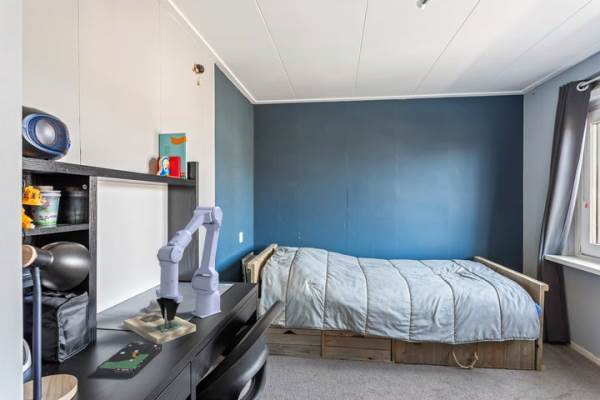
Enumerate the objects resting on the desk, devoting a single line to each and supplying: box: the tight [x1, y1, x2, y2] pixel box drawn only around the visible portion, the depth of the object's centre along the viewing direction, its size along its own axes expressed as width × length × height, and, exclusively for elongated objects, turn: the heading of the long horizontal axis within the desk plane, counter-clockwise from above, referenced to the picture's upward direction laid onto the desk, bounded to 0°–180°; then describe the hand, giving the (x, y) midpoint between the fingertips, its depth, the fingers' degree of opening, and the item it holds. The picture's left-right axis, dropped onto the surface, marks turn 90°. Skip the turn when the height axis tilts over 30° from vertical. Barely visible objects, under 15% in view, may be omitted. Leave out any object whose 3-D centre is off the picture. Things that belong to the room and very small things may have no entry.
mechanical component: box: [145, 297, 161, 314], centre depth 129 cm, size 10×4×10 cm
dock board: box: [123, 310, 197, 345], centre depth 109 cm, size 14×24×2 cm, turn 53°
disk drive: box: [95, 342, 163, 379], centre depth 86 cm, size 10×3×15 cm
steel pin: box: [164, 306, 172, 329], centre depth 106 cm, size 3×3×8 cm
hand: (168, 319), depth 106 cm, fingers closed on steel pin, 2 cm apart
